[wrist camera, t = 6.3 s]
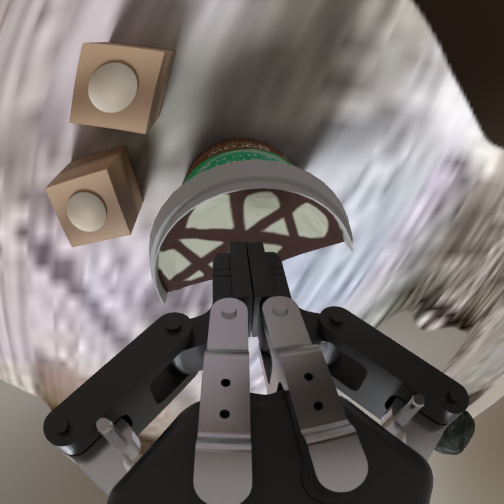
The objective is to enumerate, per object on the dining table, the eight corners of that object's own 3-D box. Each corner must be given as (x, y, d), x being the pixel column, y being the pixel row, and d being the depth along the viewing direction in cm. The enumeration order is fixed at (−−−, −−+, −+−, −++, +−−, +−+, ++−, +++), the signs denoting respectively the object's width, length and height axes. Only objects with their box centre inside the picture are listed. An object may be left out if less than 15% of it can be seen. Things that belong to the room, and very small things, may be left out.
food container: (299, 104, 21) (350, 145, 13) (315, 175, 25) (362, 248, 17) (141, 154, 22) (102, 223, 15) (171, 219, 26) (155, 307, 18)
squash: (452, 435, 76) (478, 452, 61) (417, 448, 75) (441, 468, 60) (459, 398, 77) (488, 411, 62) (423, 409, 76) (451, 426, 61)
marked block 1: (109, 42, 17) (81, 43, 13) (175, 50, 18) (164, 52, 14) (96, 106, 20) (68, 123, 16) (159, 116, 21) (144, 134, 17)
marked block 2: (71, 161, 22) (43, 189, 18) (126, 144, 22) (105, 170, 18) (91, 213, 25) (71, 248, 21) (143, 200, 25) (130, 236, 21)
